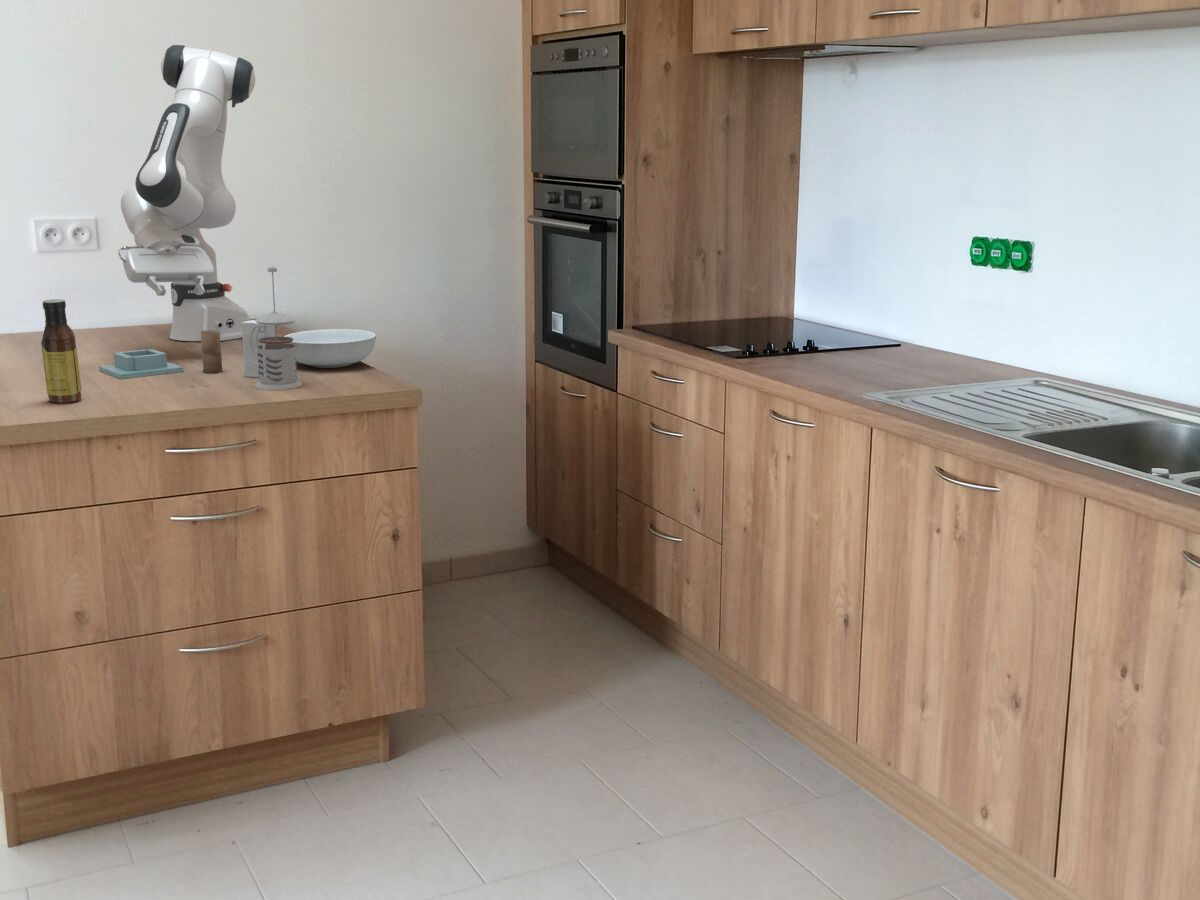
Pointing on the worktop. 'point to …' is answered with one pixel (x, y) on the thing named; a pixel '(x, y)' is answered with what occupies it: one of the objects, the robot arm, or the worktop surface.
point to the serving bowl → (332, 347)
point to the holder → (140, 364)
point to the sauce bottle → (60, 355)
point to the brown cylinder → (211, 351)
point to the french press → (276, 352)
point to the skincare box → (254, 345)
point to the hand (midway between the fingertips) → (181, 293)
